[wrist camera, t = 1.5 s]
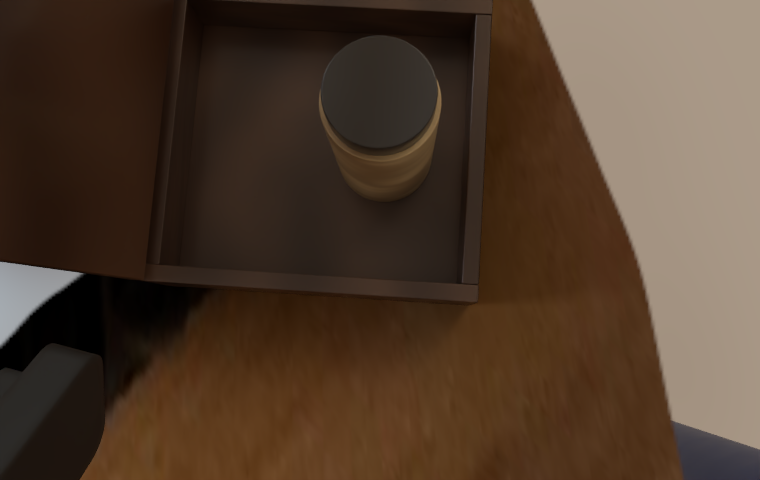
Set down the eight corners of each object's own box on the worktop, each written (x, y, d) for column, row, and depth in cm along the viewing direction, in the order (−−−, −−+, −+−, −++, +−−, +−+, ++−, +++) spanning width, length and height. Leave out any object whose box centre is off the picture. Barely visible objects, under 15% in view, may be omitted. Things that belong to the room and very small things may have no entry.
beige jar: (434, 113, 37) (446, 32, 27) (428, 205, 36) (439, 157, 26) (341, 108, 37) (320, 26, 27) (334, 199, 36) (310, 149, 26)
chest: (483, 31, 38) (492, -2, 34) (469, 305, 36) (477, 302, 33) (194, 16, 39) (172, -18, 35) (166, 285, 37) (140, 280, 33)
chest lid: (-169, -326, 19) (-191, -319, 19) (-268, 221, 17) (-291, 221, 17) (176, -23, 34) (162, -22, 35) (144, 280, 33) (129, 279, 33)
